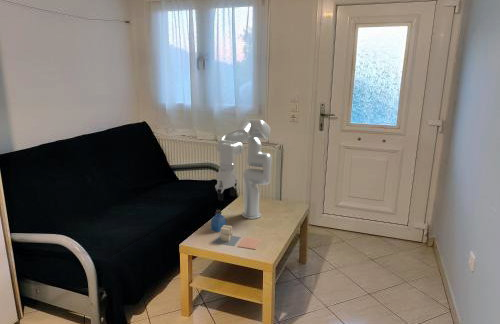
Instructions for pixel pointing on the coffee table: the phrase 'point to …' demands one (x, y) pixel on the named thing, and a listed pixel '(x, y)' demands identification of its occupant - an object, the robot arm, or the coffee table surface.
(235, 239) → the gray tile
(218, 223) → the perfume bottle
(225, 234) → the maple block
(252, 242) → the pad
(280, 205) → the coffee table surface
